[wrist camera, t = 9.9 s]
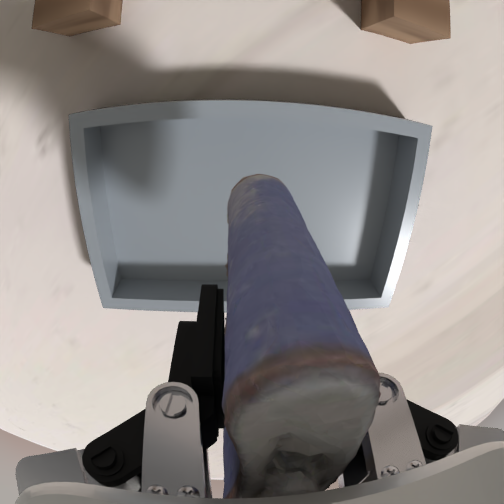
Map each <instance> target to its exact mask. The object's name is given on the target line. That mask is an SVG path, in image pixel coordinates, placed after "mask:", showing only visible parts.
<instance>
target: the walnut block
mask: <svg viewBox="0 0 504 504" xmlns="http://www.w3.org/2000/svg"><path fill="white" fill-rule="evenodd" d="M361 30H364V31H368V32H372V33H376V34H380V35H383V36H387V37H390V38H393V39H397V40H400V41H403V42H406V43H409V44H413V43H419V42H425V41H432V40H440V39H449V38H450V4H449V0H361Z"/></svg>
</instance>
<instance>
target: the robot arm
mask: <svg viewBox="0 0 504 504" xmlns="http://www.w3.org/2000/svg"><path fill="white" fill-rule="evenodd" d="M379 375H380V390H379V391H380V393H381V396H380V398H379V404H378V406H377V407H376V409H375V415H374V419H373V422H372V424H371V426H370V428H369V430H368V432H367V433H366V435H365V437H364V438H363V440H362V442H361V445H360V447H359V449H358V451H357V454H356V456H355V457H354V458H353V459H352V460H351V461H350V463H349V464H348V465H347V467H346V468H345V470H344V473H343V474H341V475H340V476H339V477H338V481H339V488H337V489H333V490H327V491H320V492H313V493H306V494H298V495H289V496H278V497H264V498H239V499H218V498H215V499H214V498H212V491H211V481H210V470H209V459H208V448H209V447H210V446H211V445H213V444H214V443H215V442H216V441H217V437H219V428H225V425H224V420H225V415H224V412H223V408H222V398H223V388H224V380H225V328H224V289H218V285H217V284H202V285H201V292H200V300H199V307H198V315H197V321H180V322H179V324H178V329H177V334H176V340H175V345H174V351H173V357H172V362H171V368H170V374H169V380H168V382H167V383H163V384H161V385H158V386H157V387H155V388H154V389H153V390H152V391H151V392H150V394H149V395H148V398H147V401H146V409H144V410H143V411H141V412H139V413H138V414H136V415H135V416H133V417H131V418H130V419H128V420H127V421H125V422H123V423H122V424H120V425H118V426H117V427H115V428H113V429H112V430H110V431H108V432H107V433H105V434H103V435H102V436H100V437H98V438H97V439H95V440H93V441H92V442H90V443H89V444H88V445H87V446H86V448H85V449H82V450H77V449H76V448H73V449H68V450H63V451H58V452H53V453H47V454H41V455H34V456H29V457H25V458H23V459H22V460H20V461H19V462H18V465H17V467H16V480H17V486H18V491H19V497H18V499H17V500H16V502H15V504H504V431H503V430H501V429H498V428H488V427H478V426H469V425H461V424H459V425H458V427H456V426H455V425H454V424H453V423H452V422H451V421H449V420H448V419H446V418H444V417H442V416H440V415H438V414H436V413H433V412H431V411H429V410H427V409H425V408H423V407H421V406H419V405H417V404H415V403H413V402H411V401H409V400H407V399H406V397H405V394H404V391H403V388H402V386H401V385H400V383H399V382H398V381H397V380H396V379H395V378H394V377H392V376H390V375H388V374H385V373H379Z"/></svg>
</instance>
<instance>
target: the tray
mask: <svg viewBox="0 0 504 504" xmlns="http://www.w3.org/2000/svg"><path fill="white" fill-rule="evenodd" d="M69 129H70V141H71V152H72V161H73V170H74V177H75V185H76V191H77V198H78V204H79V209H80V215H81V220H82V226H83V231H84V235H85V240H86V245H87V249H88V253H89V258H90V262H91V266H92V270H93V274H94V278H95V281H96V285H97V289H98V292H99V296H100V299H101V303H102V306H103V308H112V309H129V310H150V311H177V312H198V307H199V300H200V292H201V285H202V284H217V285H218V289H224V312H227V299H226V298H227V288H228V280H227V279H228V277H227V276H226V272H227V269H226V267H225V265H226V264H227V261H228V260H227V253H228V226H229V224H228V223H227V219H228V218H227V213H228V212H227V206H228V200H229V197H230V194H231V190H232V189H233V187H234V186H235V185H236V184H237V183H238V182H239V181H240V180H241V179H242V178H243V177H244V176H245V177H246V176H250V175H255V174H264V175H270V176H273V177H275V178H278V179H279V180H281V181H282V182H283V183H284V185H285V186H286V187H287V188H288V190H289V191H290V193H291V195H292V197H293V199H294V201H295V203H296V205H297V207H298V209H299V211H300V213H301V215H302V217H303V219H304V221H305V223H306V226H307V229H308V231H309V232H310V234H311V236H312V238H313V240H314V242H315V243H316V245H317V247H318V249H319V251H320V253H321V255H322V257H323V259H324V261H325V263H326V265H327V267H328V269H329V271H330V273H331V275H332V277H333V280H334V282H335V284H336V286H337V289H338V290H339V292H340V293H341V295H342V297H343V299H344V301H345V303H346V305H347V307H348V309H349V310H352V309H370V308H385V307H389V305H390V302H391V299H392V296H393V293H394V290H395V287H396V284H397V281H398V278H399V275H400V271H401V268H402V265H403V261H404V258H405V255H406V251H407V248H408V244H409V240H410V237H411V233H412V229H413V225H414V221H415V217H416V213H417V208H418V204H419V200H420V195H421V190H422V185H423V180H424V175H425V170H426V164H427V158H428V152H429V146H430V139H431V132H432V126H430V125H427V124H423V123H419V122H416V121H412V120H408V119H403V118H399V117H394V116H389V115H384V114H378V113H373V112H367V111H361V110H355V109H348V108H341V107H333V106H325V105H316V104H306V103H295V102H281V101H264V100H182V101H165V102H152V103H140V104H131V105H122V106H114V107H107V108H100V109H93V110H88V111H83V112H78V113H73V114H69Z"/></svg>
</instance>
